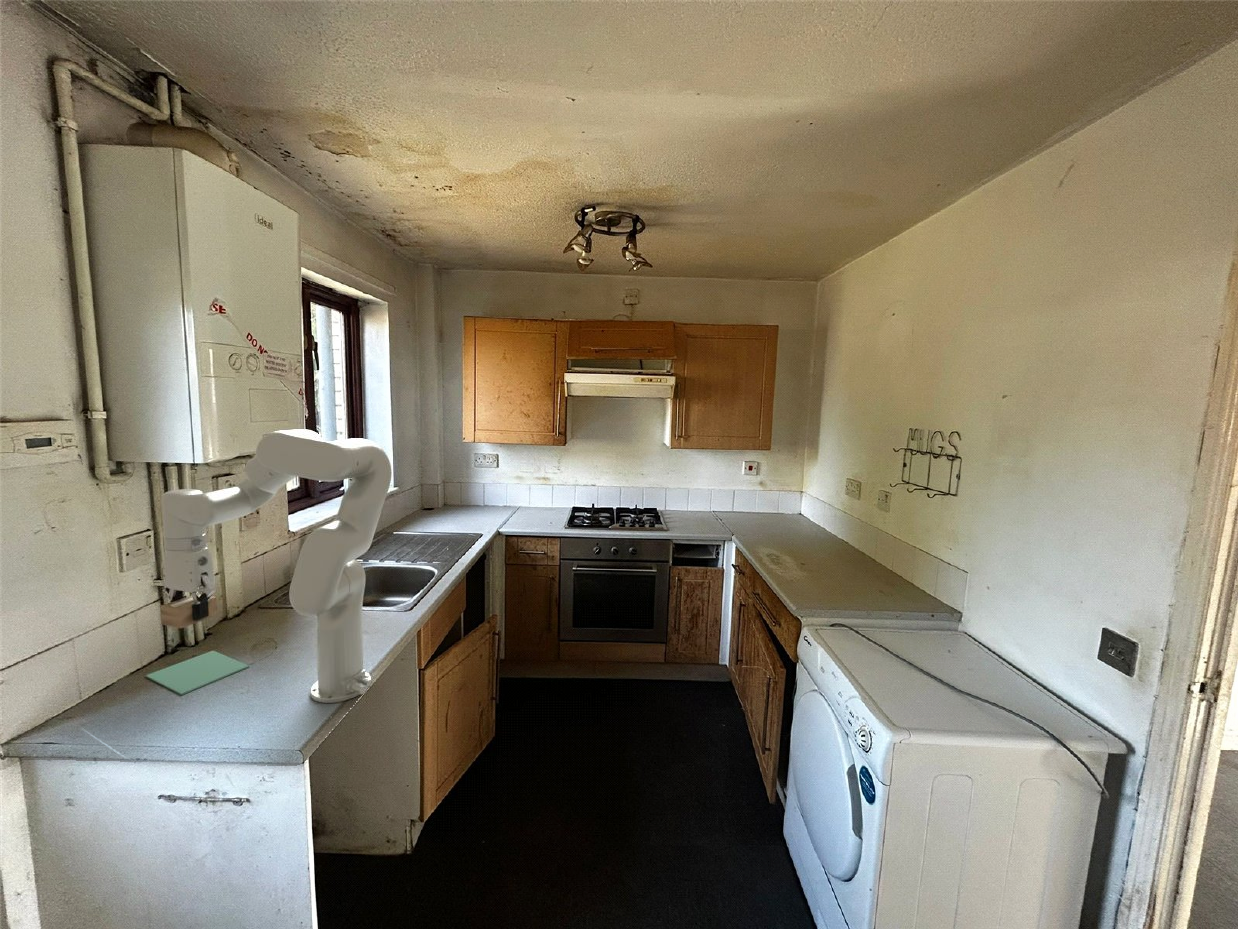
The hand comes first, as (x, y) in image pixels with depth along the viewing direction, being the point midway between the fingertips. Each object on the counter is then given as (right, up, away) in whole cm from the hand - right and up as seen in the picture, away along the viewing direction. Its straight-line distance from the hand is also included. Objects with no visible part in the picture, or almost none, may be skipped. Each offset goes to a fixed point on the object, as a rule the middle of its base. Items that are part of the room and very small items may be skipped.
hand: (190, 615), depth 119 cm
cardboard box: (0, -1, 0) cm, 1 cm away
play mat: (-2, -15, +5) cm, 16 cm away
